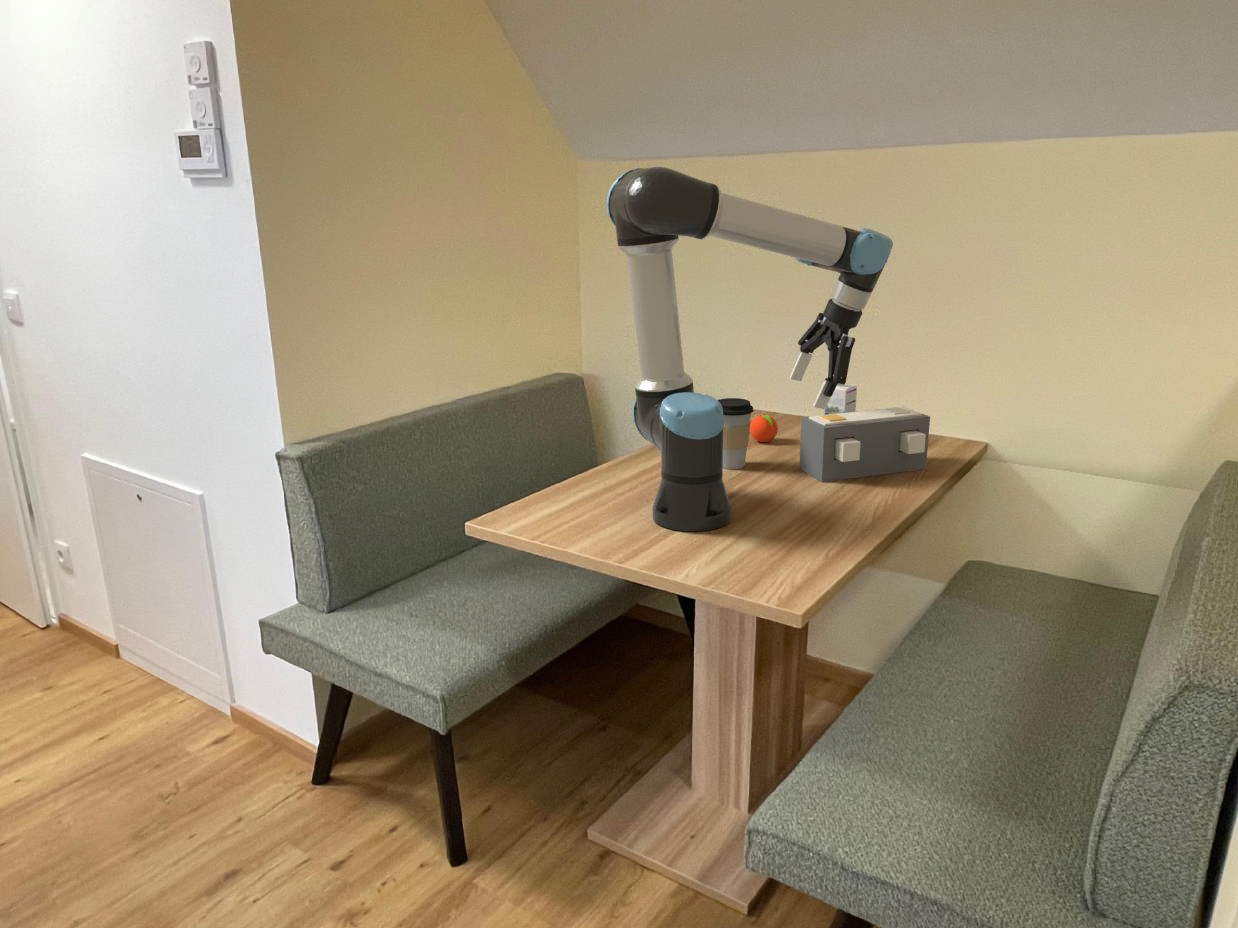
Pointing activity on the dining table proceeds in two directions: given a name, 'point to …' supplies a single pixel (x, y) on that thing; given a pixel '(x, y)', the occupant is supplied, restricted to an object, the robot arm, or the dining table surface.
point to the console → (861, 443)
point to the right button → (912, 441)
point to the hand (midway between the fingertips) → (806, 393)
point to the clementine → (763, 428)
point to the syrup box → (842, 400)
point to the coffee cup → (735, 431)
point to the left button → (846, 449)
